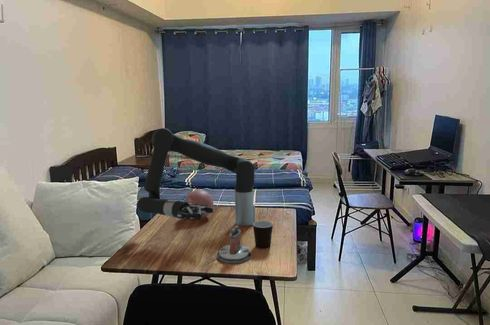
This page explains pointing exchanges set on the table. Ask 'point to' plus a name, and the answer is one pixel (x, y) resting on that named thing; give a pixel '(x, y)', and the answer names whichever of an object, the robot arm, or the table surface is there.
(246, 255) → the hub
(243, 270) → the table surface
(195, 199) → the balloon
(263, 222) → the coffee mug
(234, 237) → the lighter
